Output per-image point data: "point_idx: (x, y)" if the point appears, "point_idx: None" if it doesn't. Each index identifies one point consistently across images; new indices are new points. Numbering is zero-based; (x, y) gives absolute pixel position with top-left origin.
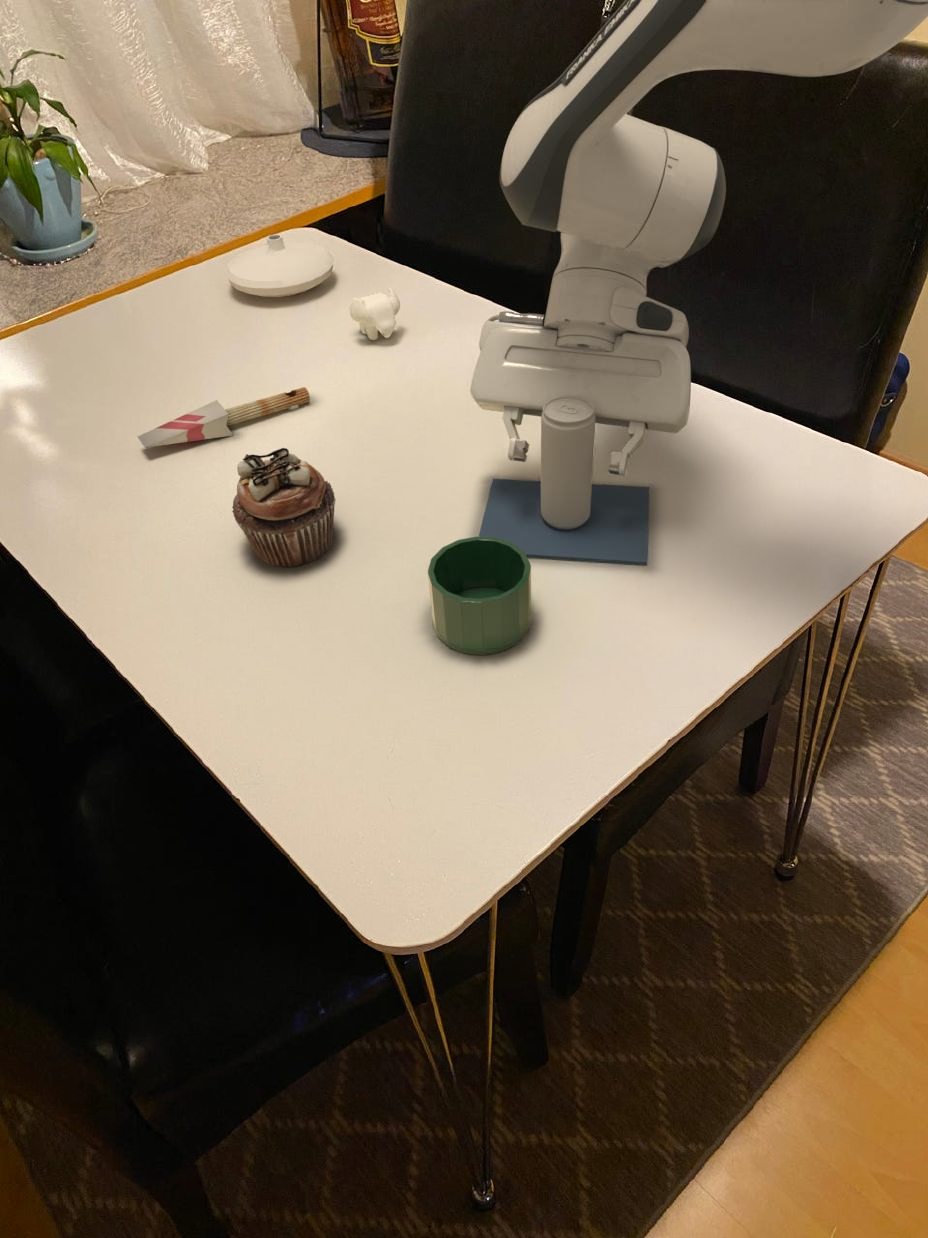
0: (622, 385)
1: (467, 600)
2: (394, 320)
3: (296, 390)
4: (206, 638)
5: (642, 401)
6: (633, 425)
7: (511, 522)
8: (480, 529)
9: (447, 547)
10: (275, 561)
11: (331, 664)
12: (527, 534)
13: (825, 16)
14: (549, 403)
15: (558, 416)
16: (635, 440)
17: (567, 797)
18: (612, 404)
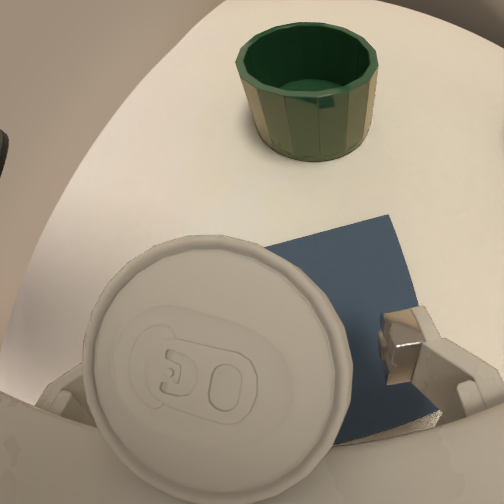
0: (25, 500)
1: (291, 24)
2: None
3: None
4: (491, 63)
5: (2, 438)
6: (54, 407)
7: (368, 304)
8: (406, 265)
9: (371, 66)
10: None
11: (403, 52)
12: (329, 283)
13: None
14: (327, 424)
15: (226, 287)
16: (65, 378)
17: (185, 43)
18: (64, 450)
